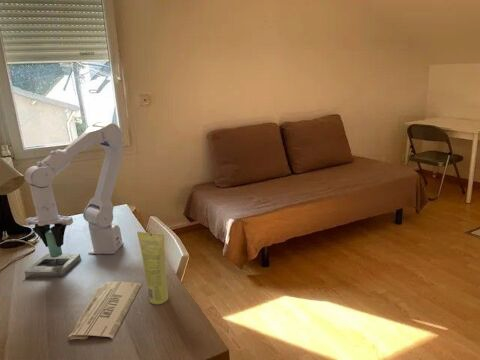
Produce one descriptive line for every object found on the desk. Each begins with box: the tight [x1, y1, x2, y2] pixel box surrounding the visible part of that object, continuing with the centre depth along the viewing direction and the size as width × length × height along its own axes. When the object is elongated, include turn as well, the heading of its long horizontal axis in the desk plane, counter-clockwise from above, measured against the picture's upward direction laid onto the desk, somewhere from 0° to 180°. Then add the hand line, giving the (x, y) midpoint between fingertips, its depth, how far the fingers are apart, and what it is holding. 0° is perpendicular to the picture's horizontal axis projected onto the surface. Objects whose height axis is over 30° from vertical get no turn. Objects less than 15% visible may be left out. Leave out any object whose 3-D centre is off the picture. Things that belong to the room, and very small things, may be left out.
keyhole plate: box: [24, 253, 82, 279], centre depth 115 cm, size 12×11×2 cm
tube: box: [137, 231, 169, 305], centre depth 93 cm, size 6×5×20 cm
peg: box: [45, 230, 63, 258], centre depth 112 cm, size 3×3×8 cm
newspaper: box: [67, 281, 142, 341], centre depth 93 cm, size 23×12×2 cm, turn 177°
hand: (54, 245), depth 113 cm, fingers closed on peg, 3 cm apart
